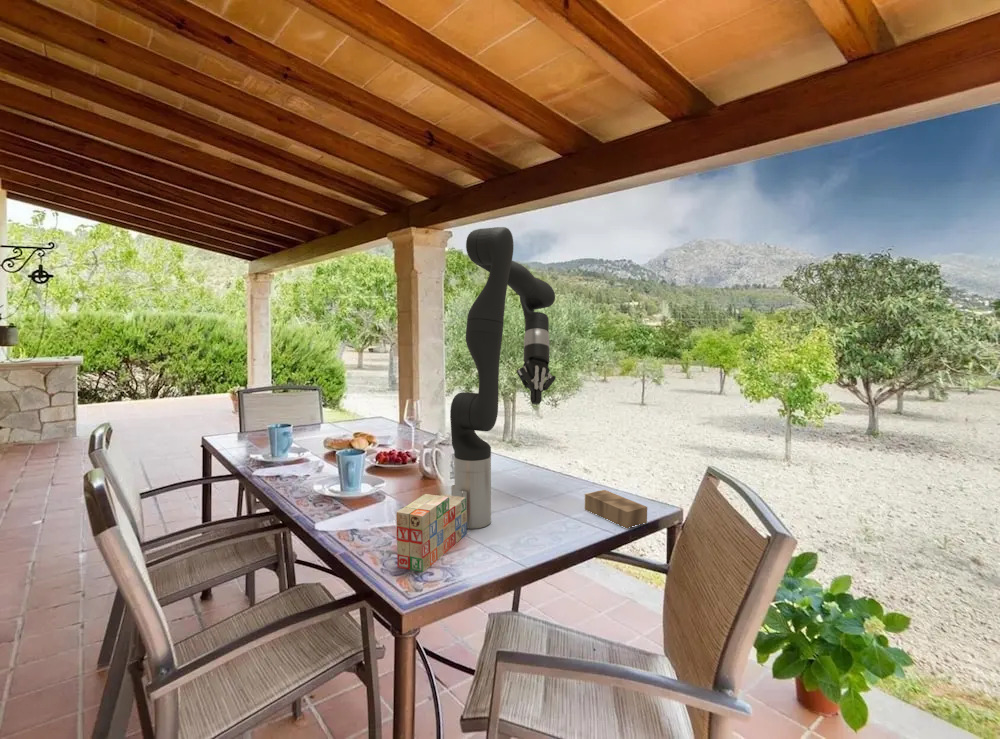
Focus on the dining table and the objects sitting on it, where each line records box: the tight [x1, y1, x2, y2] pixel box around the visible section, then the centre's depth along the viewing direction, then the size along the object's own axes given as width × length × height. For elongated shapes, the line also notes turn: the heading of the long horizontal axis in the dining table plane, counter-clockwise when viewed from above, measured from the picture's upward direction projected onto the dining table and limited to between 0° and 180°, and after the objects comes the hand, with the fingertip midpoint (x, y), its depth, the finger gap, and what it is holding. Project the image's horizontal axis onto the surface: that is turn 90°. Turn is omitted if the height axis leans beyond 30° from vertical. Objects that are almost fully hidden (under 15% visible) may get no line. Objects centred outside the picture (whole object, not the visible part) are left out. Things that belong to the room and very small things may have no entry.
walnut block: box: [584, 489, 648, 529], centre depth 142 cm, size 7×4×16 cm
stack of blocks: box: [396, 493, 468, 573], centre depth 121 cm, size 21×6×12 cm, turn 158°
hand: (536, 403), depth 152 cm, fingers closed
